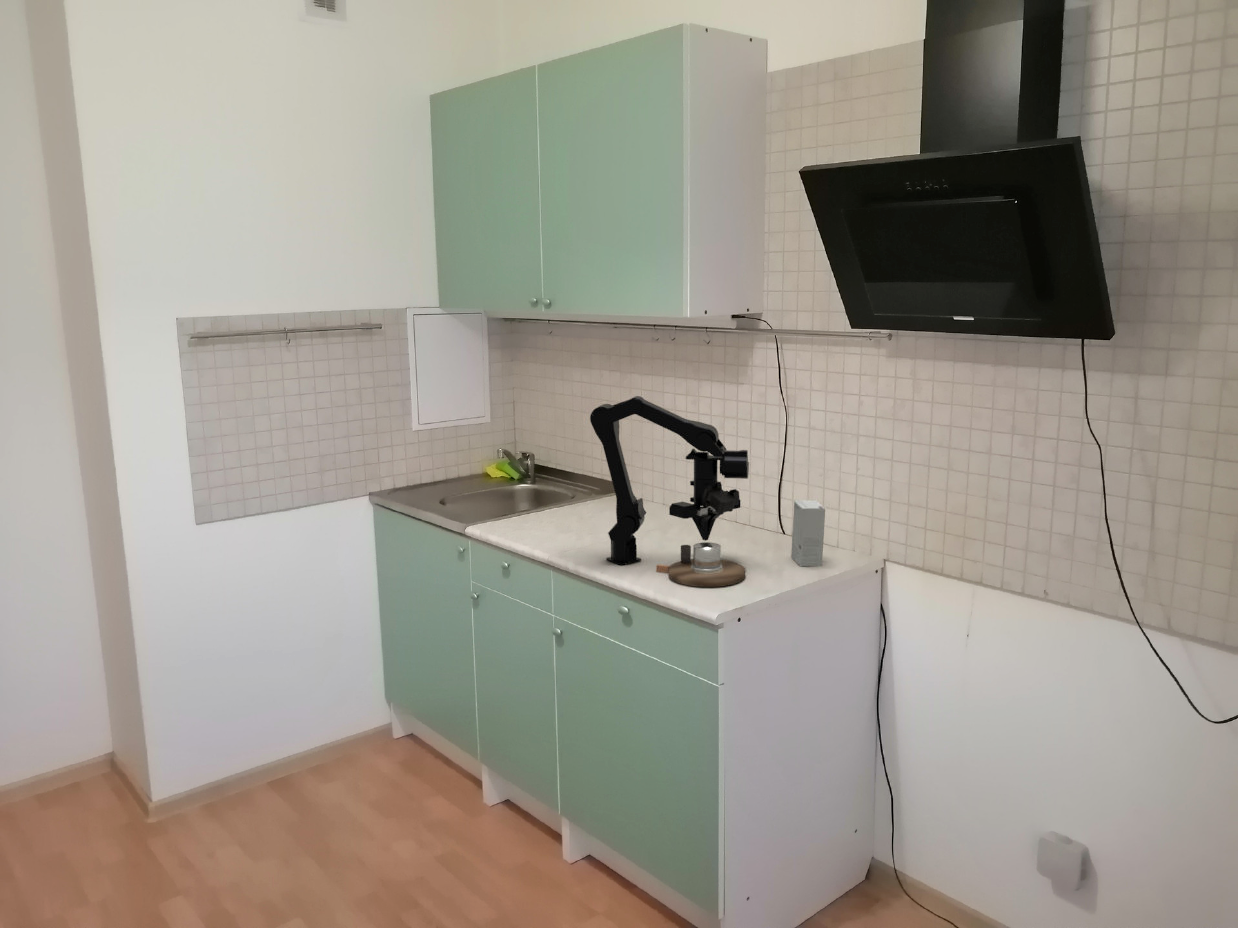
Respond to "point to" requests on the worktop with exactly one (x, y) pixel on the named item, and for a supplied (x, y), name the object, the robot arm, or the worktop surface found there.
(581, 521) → the worktop surface
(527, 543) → the worktop surface
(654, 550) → the worktop surface
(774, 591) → the worktop surface
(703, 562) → the cap
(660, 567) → the pointer
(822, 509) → the skincare box
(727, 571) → the turntable
